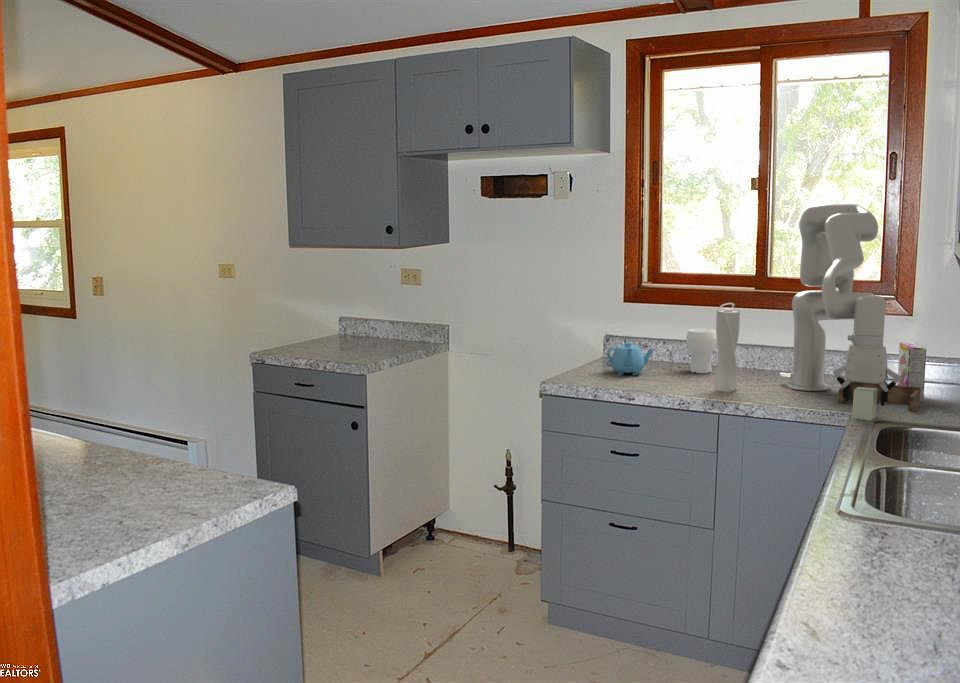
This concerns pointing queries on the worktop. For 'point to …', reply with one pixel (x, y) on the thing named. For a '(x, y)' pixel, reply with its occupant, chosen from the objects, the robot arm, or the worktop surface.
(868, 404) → the sage block
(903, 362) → the candy bar box
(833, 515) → the worktop surface
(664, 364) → the worktop surface
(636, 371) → the teapot
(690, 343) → the cup
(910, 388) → the walnut u-shaped bracket
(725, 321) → the skyscraper
